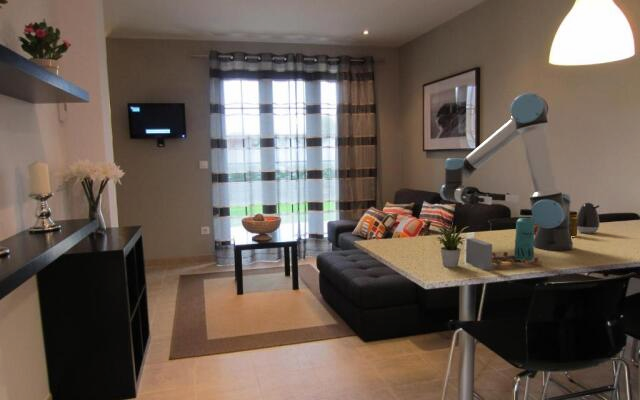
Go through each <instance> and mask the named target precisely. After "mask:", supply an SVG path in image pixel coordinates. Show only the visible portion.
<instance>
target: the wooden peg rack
mask: <svg viewBox="0 0 640 400" xmlns="http://www.w3.org/2000/svg"><path fill="white" fill-rule="evenodd" d="M496 254H497V253H496V252H492V255H493V256H494V258H492V262H496V263H492V270H493V271H494V270H509V268H510V269H521V268H535V267H543V261H541V260H540V261H539V259H540V258H539V257H533V261H526V259H525V258H522V260H521V262H515V261H518V260H517V259H515V257H514V256H515V255H514V254H513V255H508V252H507V251H503V255H496ZM501 262H511V264H509V265H503V264H501Z"/></svg>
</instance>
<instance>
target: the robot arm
mask: <svg viewBox="0 0 640 400" xmlns="http://www.w3.org/2000/svg"><path fill="white" fill-rule="evenodd" d="M509 110H510V116H511V117H510V120H508V121H507V122H506V123H504V125H502V126H501V127H500V128H498V129H497V130H496V131H495V132H494V133H493V134H491V135H490V136H489V137H488V138H487V139H486V140H484V141H483V142H482V143H481V144H479V146H477V147H476V148H475V149H474V150H472V151H471V152H470V153H469V154H467V156H465V157H464V158H459V157H448V158H446V160H445V164H444V167H445V175H444V179H445V180H444V181H445V182H444V184H442V186H441V188H440V189H439V196H440V197H441V198H442V199H443V200H444V201H448V202H454V203H461V205H465V204H466V205H471V206H474V205H478V204H483V205H484V204H485V205H489V206H491V205H492V203H493V201H505V202H509V203H515V204H520V197H521V196H520V195H515V194H514V195H513V194H510V193H509V192H506V193H493V192H492V193H491V192H484V191H481V190H479V188H478V187H476V186H468V185H463V181H464V179H468V178H469V177H472V175H473V174H474V173H475V172H476V171H477V169H479V168H480V167H481V166H483V165H484V164H485V163H487V162H488V160H490V159H491V158H492V157H494V156H495V155H496V154H498V153H499V152H500V151H501V150H502V149H504V148H505V147H506V146H507V145H509V144H511V142H512V141H514V140H515V139H516V138H517V137H519V136H520V135H521V138H522V143H523V148H524V154H525V160H526V165H527V170H528V175H529V179H530V185H531V190H532V193H530V195H529V201H530V206H531V207H530V210H532V215H531V216H530V218H531V219H533V220H534V221H535V224H536V225H538V230H537V233H536V234H535V235H534V236H535V237H534V248H537V249H542V250H548V251H571V250H573V249H572V248H574V243H573V240H572V239H573V238H571V236H570V232H569V214H570V211H571V202H572V201H571V196H570V195H569V194H567V193H562V190H560V189H559V188H557V185H556V178H555V173H554V169H553V165H552V163H553V162H552V159H551V154H550V149H549V148H550V147H549V144H548V138H547V132H546V127H547V126H548V125H549V121H548V116H547V115H548V113H549V104H548V102H547V101H546V100H545V99H544V98H543V97H541V96H540V95H539V94H537V93H534V92H533V93H532V92H526V93H522V94H520V95H518V96H516V97H515V98H514V100H513V101H512V102H511V105H510V109H509ZM570 249H571V250H570Z"/></svg>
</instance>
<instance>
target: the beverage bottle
mask: <svg viewBox="0 0 640 400" xmlns="http://www.w3.org/2000/svg"><path fill="white" fill-rule="evenodd" d="M519 215H520V216H529V217H519V218H518V219H517V220H516V222H515V224H516V225H515V239H514V250H513V251H514V254H513V255H515V256H514V257H515V259H517V260H516V261H522V258H525V259H526V262H532V261H534V258H535V257H534V253H535V252H534V251H535V247H534V238H535V235H536V234H534V227H535V221H534V220H533V219H532V218H531V215H532V210H531V208H530V209H529V208H522V209H520V210H519Z"/></svg>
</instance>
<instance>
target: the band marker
mask: <svg viewBox="0 0 640 400" xmlns="http://www.w3.org/2000/svg"><path fill="white" fill-rule="evenodd" d="M492 258H494V256H493V255H492ZM501 264H503V265H509V264H511V262H509V261H501Z"/></svg>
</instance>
